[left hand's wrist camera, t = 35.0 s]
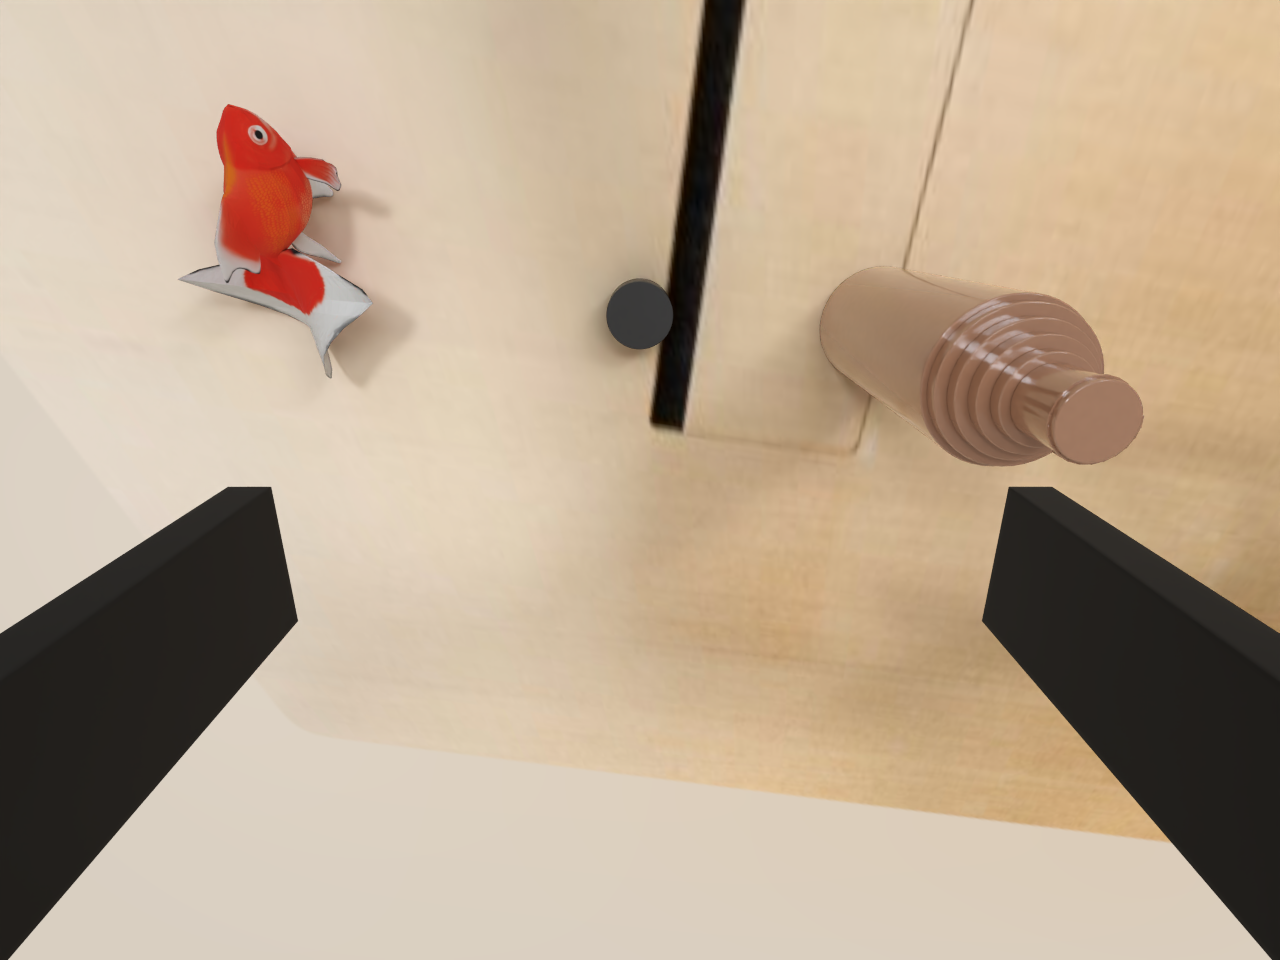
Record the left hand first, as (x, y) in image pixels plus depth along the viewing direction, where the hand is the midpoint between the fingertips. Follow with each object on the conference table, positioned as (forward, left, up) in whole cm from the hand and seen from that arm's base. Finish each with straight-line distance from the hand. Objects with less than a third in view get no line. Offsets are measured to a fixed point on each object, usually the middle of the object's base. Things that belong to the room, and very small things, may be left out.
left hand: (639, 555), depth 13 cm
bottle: (+12, +10, -37) cm, 41 cm away
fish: (-18, -12, -37) cm, 43 cm away
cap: (0, 0, -35) cm, 35 cm away
